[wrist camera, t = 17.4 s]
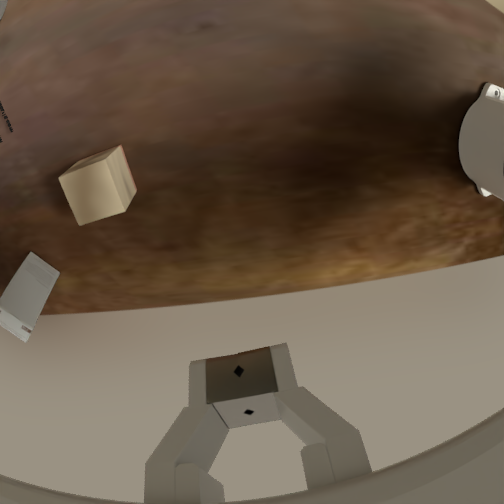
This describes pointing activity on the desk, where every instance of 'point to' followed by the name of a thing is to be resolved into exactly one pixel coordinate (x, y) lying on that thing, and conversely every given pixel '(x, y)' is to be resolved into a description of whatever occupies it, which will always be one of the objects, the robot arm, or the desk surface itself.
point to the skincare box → (26, 296)
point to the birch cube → (99, 185)
